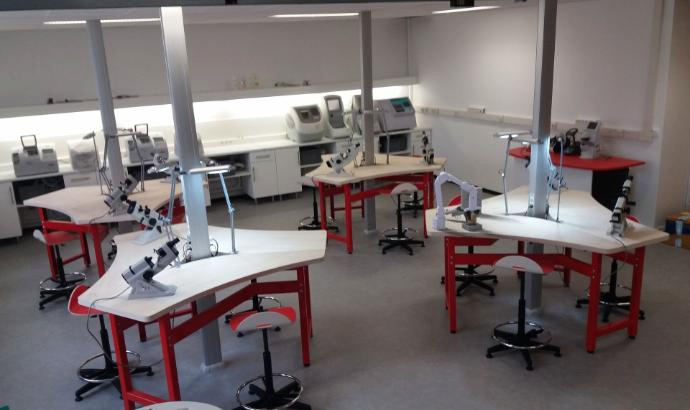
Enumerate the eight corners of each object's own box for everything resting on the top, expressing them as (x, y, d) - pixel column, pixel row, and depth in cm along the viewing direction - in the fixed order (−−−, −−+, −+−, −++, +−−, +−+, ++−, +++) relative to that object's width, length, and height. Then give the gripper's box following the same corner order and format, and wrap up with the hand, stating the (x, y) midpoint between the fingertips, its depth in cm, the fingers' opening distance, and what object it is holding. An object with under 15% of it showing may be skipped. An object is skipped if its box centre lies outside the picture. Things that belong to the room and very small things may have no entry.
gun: (469, 221, 458) (463, 204, 458) (440, 230, 472) (433, 213, 472) (471, 220, 463) (465, 202, 462) (442, 228, 477) (435, 212, 476)
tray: (469, 231, 436) (469, 226, 435) (461, 227, 445) (461, 223, 444) (482, 229, 440) (482, 224, 439) (474, 225, 449) (475, 221, 449)
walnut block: (471, 223, 439) (471, 215, 437) (467, 221, 443) (467, 214, 442) (476, 222, 440) (476, 214, 439) (472, 220, 445) (473, 213, 444)
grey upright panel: (461, 214, 482) (462, 185, 476) (460, 213, 487) (461, 184, 481) (482, 214, 482) (483, 185, 476) (480, 212, 487) (481, 184, 481)
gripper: (467, 204, 431) (467, 221, 435) (483, 202, 437) (483, 219, 440) (462, 202, 438) (462, 219, 441) (478, 200, 443) (477, 217, 446)
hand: (472, 219), depth 441 cm, fingers closed on walnut block, 5 cm apart
